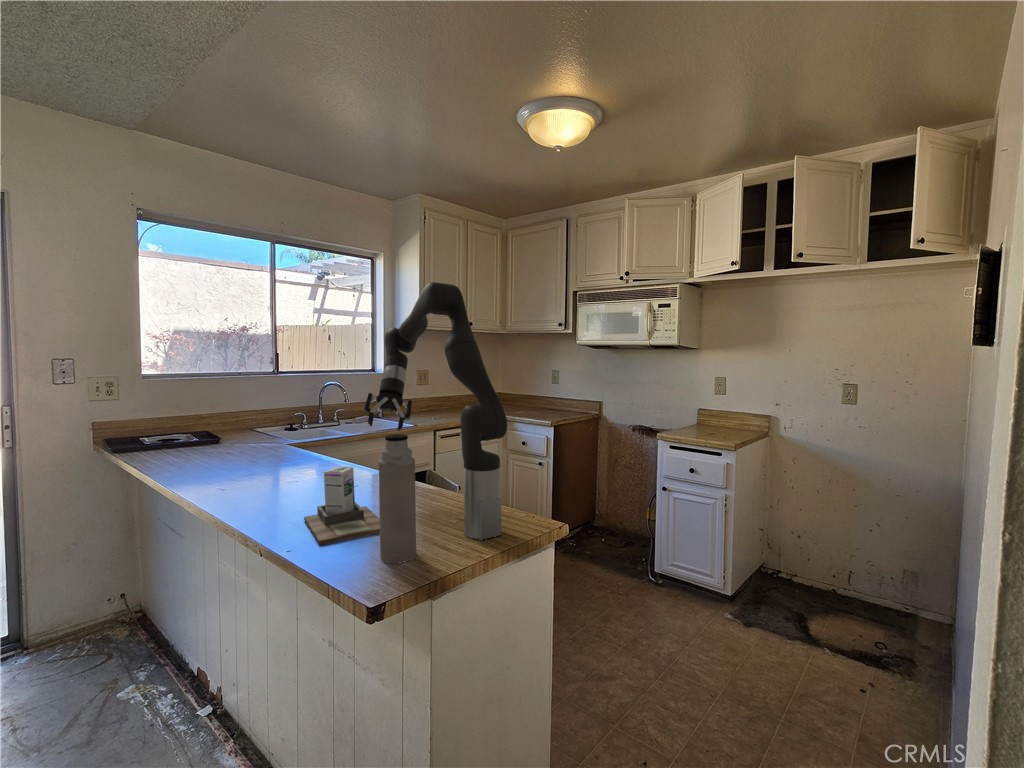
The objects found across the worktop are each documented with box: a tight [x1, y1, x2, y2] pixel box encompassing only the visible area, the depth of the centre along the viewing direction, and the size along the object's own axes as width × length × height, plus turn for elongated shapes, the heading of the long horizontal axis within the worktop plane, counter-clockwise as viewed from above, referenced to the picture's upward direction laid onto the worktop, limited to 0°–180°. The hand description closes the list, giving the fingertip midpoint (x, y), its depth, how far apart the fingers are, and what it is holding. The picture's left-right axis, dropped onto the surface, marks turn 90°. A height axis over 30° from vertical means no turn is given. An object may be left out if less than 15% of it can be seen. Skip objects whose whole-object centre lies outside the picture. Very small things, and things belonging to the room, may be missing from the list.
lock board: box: [303, 501, 380, 546], centre depth 131 cm, size 20×17×4 cm
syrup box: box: [323, 466, 356, 515], centre depth 135 cm, size 6×6×14 cm
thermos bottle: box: [378, 433, 417, 564], centre depth 111 cm, size 8×8×28 cm
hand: (384, 427), depth 153 cm, fingers open, 8 cm apart
